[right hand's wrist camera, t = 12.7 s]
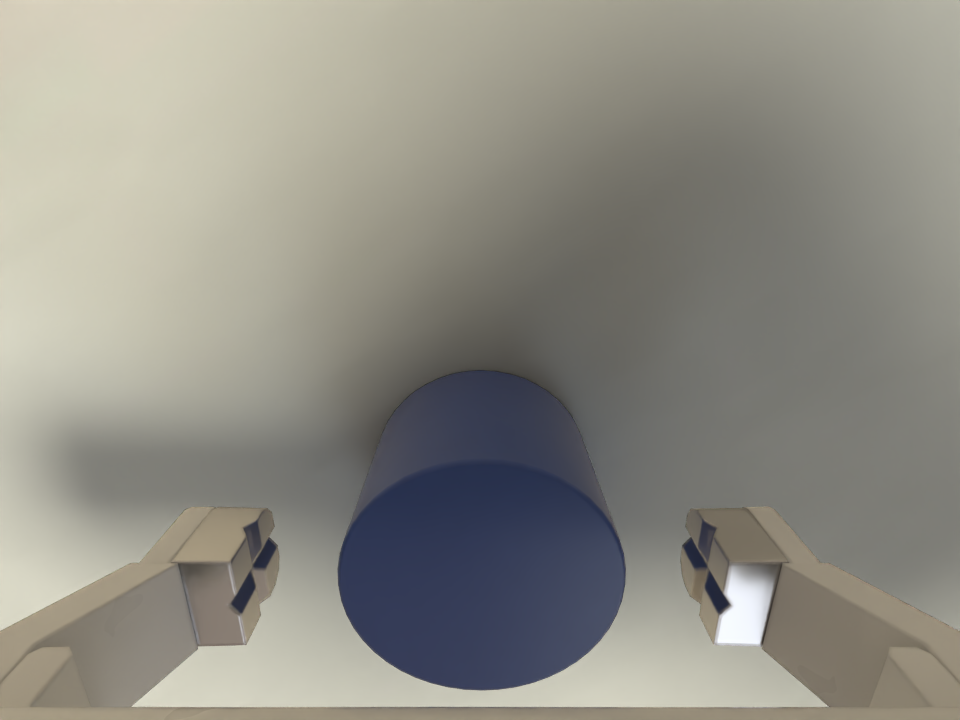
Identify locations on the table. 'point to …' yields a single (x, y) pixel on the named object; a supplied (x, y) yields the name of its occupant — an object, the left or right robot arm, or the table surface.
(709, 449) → the table surface
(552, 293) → the table surface
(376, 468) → the canister
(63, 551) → the table surface
